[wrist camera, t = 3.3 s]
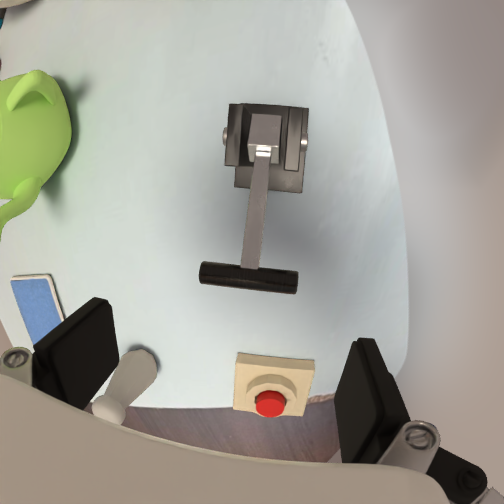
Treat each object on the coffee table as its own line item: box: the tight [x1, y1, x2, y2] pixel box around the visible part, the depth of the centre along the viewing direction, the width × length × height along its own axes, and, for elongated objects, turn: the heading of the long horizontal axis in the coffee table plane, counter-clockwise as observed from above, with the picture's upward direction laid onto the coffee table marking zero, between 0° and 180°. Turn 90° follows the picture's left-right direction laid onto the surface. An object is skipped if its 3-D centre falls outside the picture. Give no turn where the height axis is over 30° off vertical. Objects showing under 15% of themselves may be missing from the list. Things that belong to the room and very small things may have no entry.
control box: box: [233, 353, 315, 417], centre depth 36 cm, size 10×9×4 cm
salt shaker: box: [92, 349, 157, 425], centre depth 34 cm, size 6×6×13 cm
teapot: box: [0, 70, 72, 240], centre depth 25 cm, size 19×20×14 cm
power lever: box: [199, 114, 298, 294], centre depth 19 cm, size 12×6×2 cm, turn 176°
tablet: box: [10, 274, 64, 345], centre depth 41 cm, size 19×13×1 cm, turn 7°
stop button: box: [256, 390, 285, 417], centre depth 34 cm, size 4×4×2 cm
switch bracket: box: [223, 103, 309, 193], centre depth 24 cm, size 9×7×12 cm
